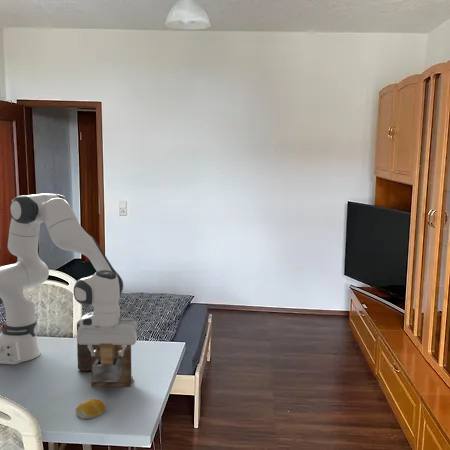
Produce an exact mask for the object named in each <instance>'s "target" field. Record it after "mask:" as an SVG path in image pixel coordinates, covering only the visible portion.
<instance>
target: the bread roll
mask: <svg viewBox="0 0 450 450" xmlns="http://www.w3.org/2000/svg"><path fill="white" fill-rule="evenodd" d="M105 410H106V404H105V402H103V400H101V399H100V398H91V399H88V400H86V401H85V402H82V403H80V404H78V405H77V407H76V409H75V415H76V416H77V417H79V418H80V419H83V420H88V419H89V420H91V419H94V418H96V417H98V416H101V415H102V414H103V413H105V412H106V411H105Z"/></svg>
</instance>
